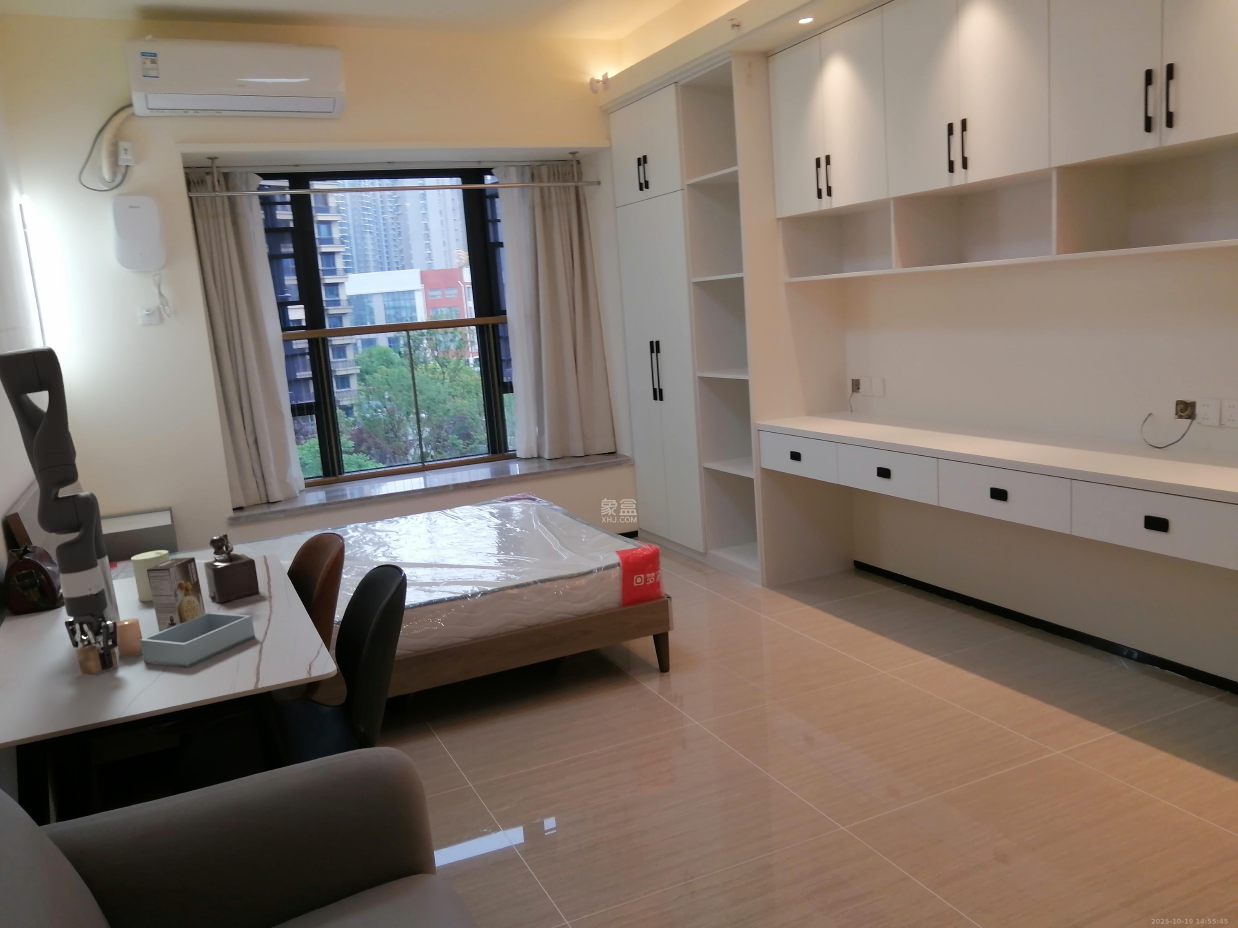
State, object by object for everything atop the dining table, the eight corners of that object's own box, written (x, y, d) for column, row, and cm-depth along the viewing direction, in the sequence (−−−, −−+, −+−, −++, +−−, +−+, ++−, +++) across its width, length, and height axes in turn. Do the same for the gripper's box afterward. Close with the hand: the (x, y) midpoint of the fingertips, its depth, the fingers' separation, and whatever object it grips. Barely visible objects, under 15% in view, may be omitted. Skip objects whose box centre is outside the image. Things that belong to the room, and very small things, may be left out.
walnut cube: (81, 672, 195) (76, 650, 194) (103, 663, 199) (98, 641, 198) (96, 674, 192) (91, 652, 192) (118, 665, 197) (113, 643, 196)
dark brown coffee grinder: (206, 597, 244) (193, 531, 241) (249, 586, 250) (237, 521, 247) (222, 608, 231) (210, 539, 228) (267, 597, 238) (255, 529, 235)
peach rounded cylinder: (114, 656, 203) (108, 625, 202) (134, 647, 208) (128, 617, 207) (129, 657, 201) (123, 627, 200) (149, 649, 206) (143, 619, 204)
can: (165, 599, 246) (157, 555, 244) (131, 602, 246) (123, 559, 244) (182, 589, 255) (174, 546, 253) (149, 592, 255) (141, 550, 253)
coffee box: (184, 621, 224) (172, 557, 221) (207, 621, 222) (196, 556, 220) (158, 635, 215) (145, 568, 212) (182, 634, 213) (170, 567, 211)
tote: (144, 662, 197) (139, 639, 196) (212, 633, 212) (208, 612, 212) (188, 667, 191) (183, 644, 190) (255, 637, 206) (251, 615, 206)
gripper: (44, 594, 193) (61, 671, 196) (88, 597, 186) (104, 677, 189) (78, 583, 199) (94, 658, 202) (122, 585, 193) (137, 663, 196)
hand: (99, 666), depth 196 cm, fingers closed on walnut cube, 5 cm apart
